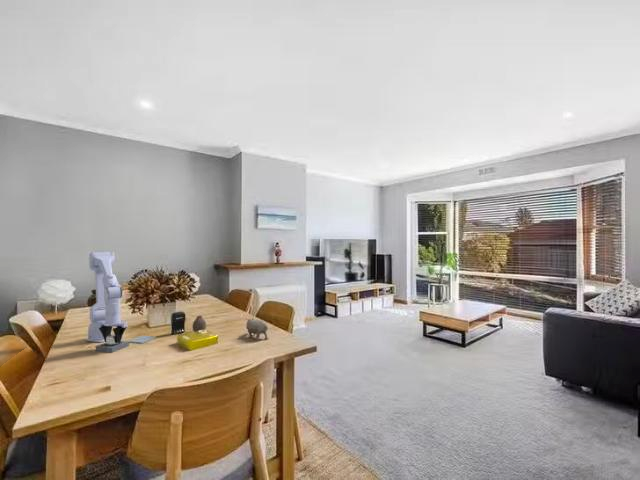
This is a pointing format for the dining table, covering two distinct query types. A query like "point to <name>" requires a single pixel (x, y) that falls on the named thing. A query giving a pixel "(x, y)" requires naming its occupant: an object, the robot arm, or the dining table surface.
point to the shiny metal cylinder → (111, 340)
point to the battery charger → (178, 322)
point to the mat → (142, 339)
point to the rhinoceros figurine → (256, 328)
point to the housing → (112, 349)
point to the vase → (199, 324)
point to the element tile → (197, 339)
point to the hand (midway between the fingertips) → (112, 341)
